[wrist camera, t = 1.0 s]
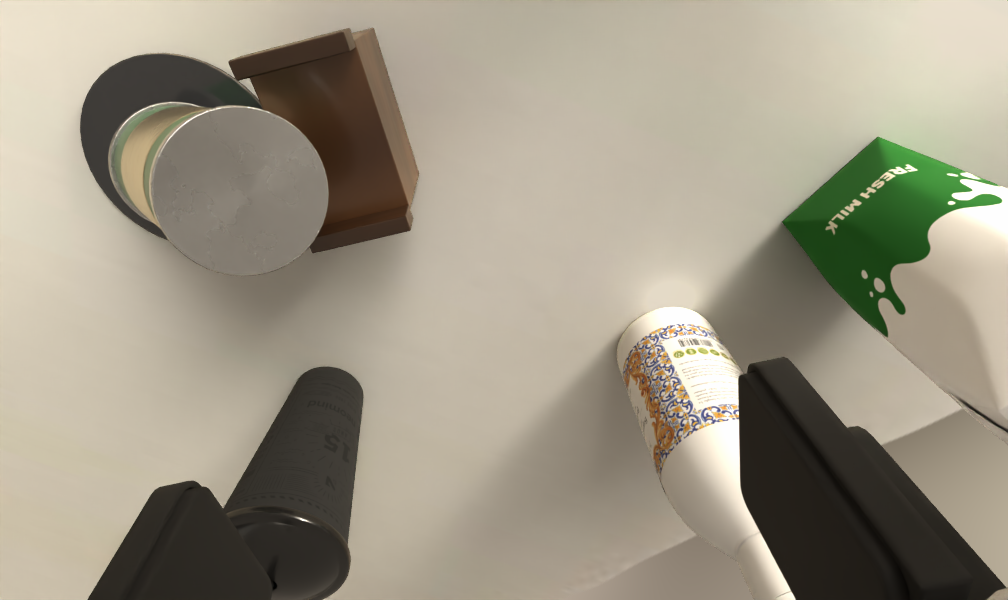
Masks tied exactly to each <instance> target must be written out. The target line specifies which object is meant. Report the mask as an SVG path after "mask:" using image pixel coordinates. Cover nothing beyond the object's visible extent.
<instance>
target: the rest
mask: <svg viewBox="0 0 1008 600" xmlns="http://www.w3.org/2000/svg"><path fill="white" fill-rule="evenodd" d="M229 65H230V67H231V70H232V72H233V74H234V76H235V79H236V80H237V81H239V80H243V79H247V78H250V80H251V82H252V85H253V87H254V89H255V92H256V94H257V96H258V99H259V101H260V103H261V105H262V108H263V110H266V111H269V112H271V113H273V114H276V115H278V116H280V117H282V118H283V119H285V120H287V121H288V122H290V123H291V124H292V125H294V126H295V127H296V128H298V129H299V130H300V131H301V132H302V133H303V134H304V135H305V136H306V137H307V139H308V140H309V141H310V142H311V143H312V145H313V146H314V148H315V150H316V151H317V153H318V155H319V157H320V159H321V161H322V163H323V166H324V169H325V172H326V176H327V181H328V192H329V197H328V207H327V213H326V216H325V220H324V223H323V225H322V227H321V229H320V232H319V233H318V235H317V237H316V238H315V240H314V241H313V243H312V244H311V245H310V249H311V251H312V253H317V252H321V251H325V250H330V249H334V248H338V247H343V246H347V245H351V244H355V243H360V242H364V241H368V240H373V239H377V238H381V237H385V236H390V235H394V234H398V233H402V232H407V231H410V230H411V226H412V222H413V216H412V213H411V210H410V208H411V204H412V200H413V196H414V192H415V188H416V184H417V180H418V177H419V171H418V168H417V165H416V162H415V159H414V155H413V152H412V149H411V146H410V143H409V139H408V136H407V133H406V130H405V127H404V123H403V120H402V117H401V114H400V111H399V108H398V104H397V101H396V98H395V95H394V92H393V88H392V85H391V82H390V79H389V76H388V72H387V69H386V66H385V63H384V60H383V56H382V53H381V50H380V47H379V44H378V40H377V37H376V34H375V31H374V28H370V29H366V30H363V31H359V32H355V33H351V30H350V29H349V28H347V29H343V30H339V31H335V32H331V33H328V34H324V35H320V36H316V37H312V38H309V39H305V40H301V41H297V42H293V43H289V44H286V45H282V46H278V47H274V48H270V49H267V50H263V51H259V52H255V53H251V54H247V55H244V56H240V57H238V58H235V59H233V60H230V61H229Z"/></svg>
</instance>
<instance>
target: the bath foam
mask: <svg viewBox="0 0 1008 600" xmlns="http://www.w3.org/2000/svg"><path fill="white" fill-rule="evenodd" d="M617 362H618V366H619V369H620V372H621V375H622V377H623V380H624V384H625V386H626V389H627V392H628V395H629V397H630V400H631V403H632V405H633V408H634V411H635V414H636V416H637V419H638V422H639V425H640V427H641V430H642V433H643V435H644V438H645V441H646V444H647V446H648V449H649V452H650V455H651V457H652V460H653V463H654V465H655V468H656V471H657V474H658V476H659V479H660V482H661V485H662V487H663V490H664V492H665V494H666V495H667V497H668V499H669V501H670V503H671V505H672V506H673V508H674V509H675V511H676V512H677V514H678V515H679V516H680V518H681V519H682V520H683V521H684V522H685V524H686V525H687V526H688V527H689V528H690V529H691V530H692V531H694V532H695V533H696V534H697V535H698V536H700V537H701V538H702V539H703V540H705V541H706V542H708V543H709V544H710V545H712V546H714V547H715V548H716V549H718V550H720V551H721V552H723V553H724V554H726V555H727V556H729V557H731V558H732V559H734V560H736V561H737V562H738V565H739V567H740V570H741V572H742V574H743V577H744V579H745V581H746V583H747V586H748V588H749V590H750V592H751V594H752V596H753V598H754V600H796V599H795V597H794V596H793V594H792V592H791V590H790V588H789V586H788V584H787V582H786V580H785V578H784V577H783V575H782V573H781V571H780V569H779V567H778V565H777V563H776V561H775V560H774V558H773V556H772V554H771V552H770V550H769V548H768V546H767V544H766V543H765V541H764V539H763V537H762V535H761V533H760V531H759V529H758V527H757V526H756V524H755V522H754V520H753V518H752V516H751V514H750V512H749V510H748V508H747V506H746V504H745V502H744V499H743V496H742V493H741V488H740V454H739V404H738V378H739V376H740V375H743V374H744V373H743V372H742V370H741V369H740V367H739V366H738V364H737V363H736V361H735V360H734V358H733V357H732V355H731V354H730V352H729V351H728V349H727V348H726V346H725V345H724V343H723V342H722V341H721V339H720V338H719V337H718V335H717V334H716V332H715V331H714V329H713V328H712V326H711V325H710V324H709V322H708V321H707V320H706V319H705V318H704V317H702V316H701V315H700V314H698V313H696V312H694V311H692V310H689V309H685V308H680V307H666V308H660V309H656V310H653V311H651V312H648V313H646V314H644V315H642V316H641V317H639V318H638V319H636V320H635V321H634V322H633V323H632V324H631V325H630V326H629V327H628V328H627V329H626V330H625V332H624V333H623V335H622V337H621V339H620V341H619V344H618V348H617Z"/></svg>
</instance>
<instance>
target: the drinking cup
mask: <svg viewBox="0 0 1008 600" xmlns="http://www.w3.org/2000/svg"><path fill="white" fill-rule="evenodd" d="M362 405H363V391H362V388H361V386H360V384H359V382H358V381H357V380H356V379H355V378H354V377H353V376H352V375H350V374H349V373H347V372H345V371H343V370H340V369H337V368H332V367H319V368H314V369H311V370H309V371H307V372H305V373H304V374H303V375H302V376H301V377H300V378H299V379H298V381H297V382H296V384H295V386H294V387H293V389H292V391H291V393H290V394H289V396H288V398H287V400H286V401H285V403H284V405H283V406H282V408H281V410H280V412H279V413H278V415H277V417H276V419H275V420H274V422H273V424H272V425H271V427H270V429H269V431H268V432H267V434H266V436H265V438H264V439H263V441H262V443H261V444H260V446H259V448H258V450H257V451H256V453H255V455H254V457H253V458H252V460H251V462H250V463H249V465H248V467H247V469H246V470H245V472H244V474H243V475H242V477H241V479H240V481H239V482H238V484H237V486H236V488H235V489H234V491H233V493H232V494H231V496H230V498H229V500H228V501H227V503H226V505H225V507H224V508H223V510H224V511H225V513H226V514H227V516H228V517H229V519H230V520H231V522H232V523H233V525H234V526H235V528H236V529H237V530H238V532H239V533H240V535H241V536H242V538H243V539H244V541H245V542H246V544H247V545H248V547H249V548H250V550H251V551H252V553H253V554H254V556H255V557H256V558H257V560H258V561H259V563H260V564H261V566H262V567H263V569H264V570H265V572H266V573H267V575H268V576H269V578H270V580H271V584H272V597H271V600H322V599H324V598H327V597H328V596H330V595H332V594H333V593H334V592H336V591H337V590H338V589H339V588H340V587H341V586H342V584H343V583H344V582H345V580H346V578H347V576H348V573H349V569H350V563H351V556H350V551H349V548H348V536H349V527H350V517H351V508H352V499H353V489H354V480H355V471H356V461H357V452H358V442H359V433H360V424H361V414H362Z"/></svg>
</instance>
